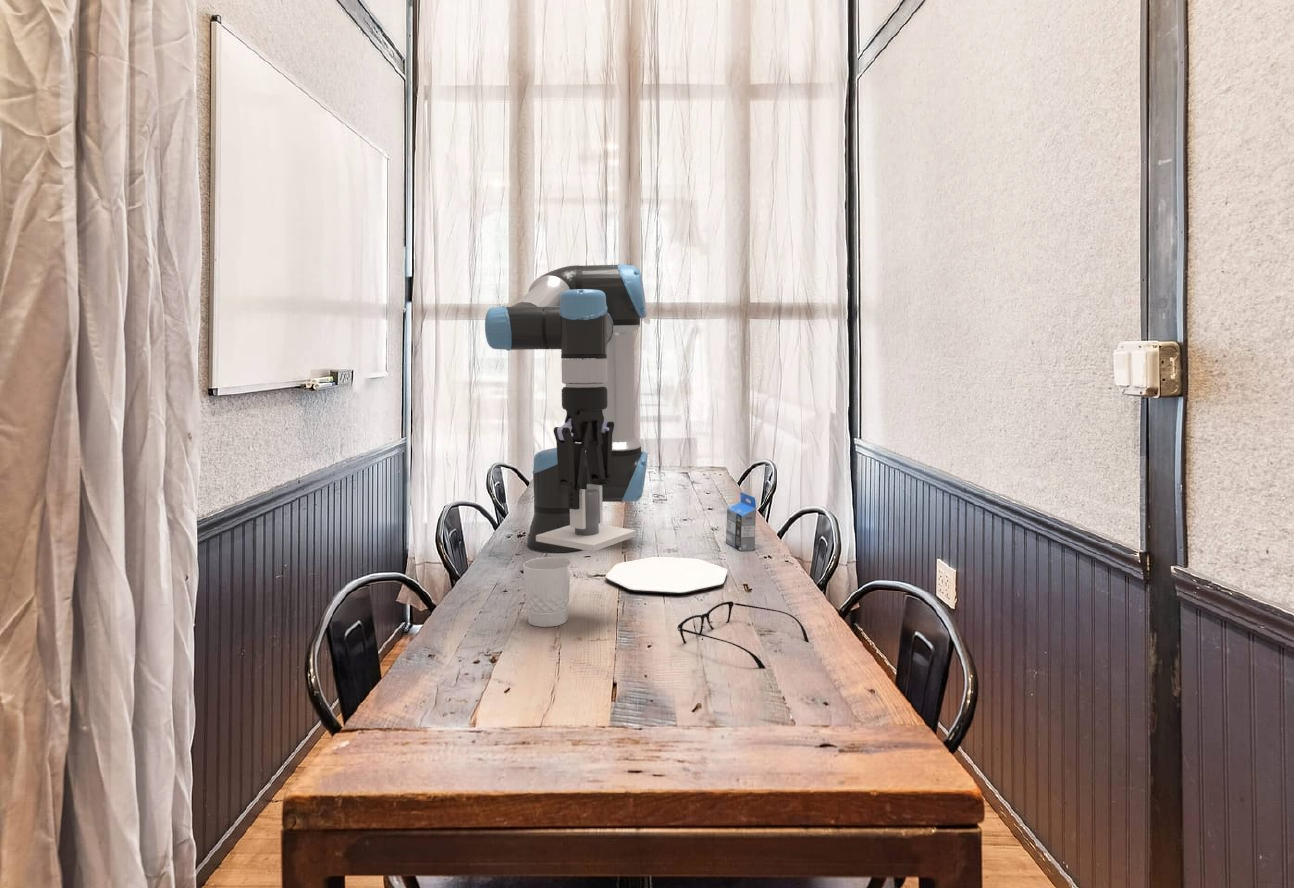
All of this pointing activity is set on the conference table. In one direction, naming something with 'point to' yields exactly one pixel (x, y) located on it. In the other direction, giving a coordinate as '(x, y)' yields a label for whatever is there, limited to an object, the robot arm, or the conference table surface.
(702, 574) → the plate
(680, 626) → the eyeglasses
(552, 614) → the white cup
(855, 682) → the conference table surface
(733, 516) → the label tape box
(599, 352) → the robot arm
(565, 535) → the lid
